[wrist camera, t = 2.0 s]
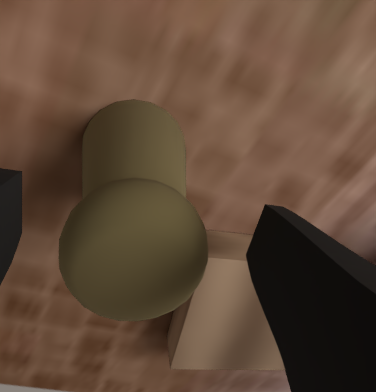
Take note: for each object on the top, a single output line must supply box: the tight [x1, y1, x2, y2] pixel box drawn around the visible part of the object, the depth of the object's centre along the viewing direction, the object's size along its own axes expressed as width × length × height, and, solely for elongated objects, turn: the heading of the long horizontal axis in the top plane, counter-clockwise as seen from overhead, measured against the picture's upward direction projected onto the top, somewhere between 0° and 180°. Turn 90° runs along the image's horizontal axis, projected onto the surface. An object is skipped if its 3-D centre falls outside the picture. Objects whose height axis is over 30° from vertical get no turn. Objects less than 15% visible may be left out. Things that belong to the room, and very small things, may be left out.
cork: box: [59, 99, 209, 321], centre depth 15 cm, size 6×6×11 cm
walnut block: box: [167, 230, 285, 370], centre depth 26 cm, size 11×11×3 cm
